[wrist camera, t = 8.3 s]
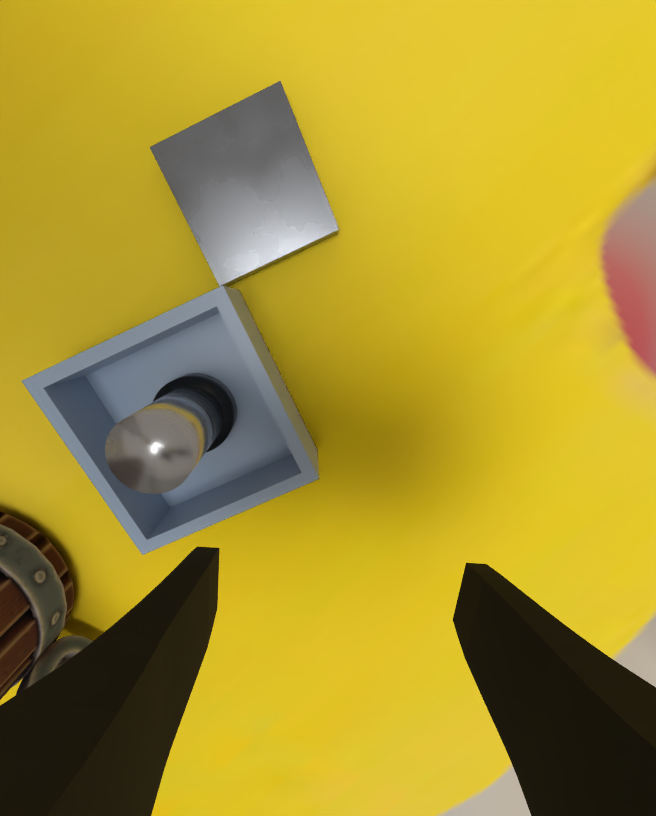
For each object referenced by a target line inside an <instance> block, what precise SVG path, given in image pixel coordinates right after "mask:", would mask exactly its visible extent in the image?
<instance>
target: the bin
mask: <svg viewBox="0 0 656 816" xmlns="http://www.w3.org/2000/svg"><path fill="white" fill-rule="evenodd" d="M192 373H200V374H206V375H209V376H212V377H214V378H216V379H218V380H219V381H221V382H222V383H223V384H225V385H226V386H227V388H228V389H229V390H230V391H231V393H232V395H233V397H234V399H235V402H236V406H237V418H236V422H235V425H234V427H233V429H232V430H231V432H230V433H229V435H228V437H227V438H226V439H225V441H224V442H223V443H222V444H221V445H220V446H218V447H217V448H215V449H213V450H211V451H209V452H206V453H205V454H204V455H203V457H202V458H201V459H200V461H199V462H198V464H197V465H196V466H195V468H194V469H193V470H192V472H191V473H190V474H189V476H188V477H187V479H186V480H185V481H184V482H183V483H182V484H181V485H180V486H178V487H177V488H175V489H173V490H171V491H169V492H165V493H160V494H147V493H142V492H138V491H135V490H133V489H131V488H129V487H127V486H126V485H124V484H123V483H122V482H120V481H119V480H118V479H117V478H116V477H115V475H114V474H113V473H112V471H111V470H110V468H109V466H108V464H107V460H106V456H105V444H106V440H107V437H108V435H109V433H110V431H111V430H112V428H113V427H114V426H115V425H116V424H117V423H118V422H120V421H121V420H123V419H125V418H126V417H128V416H130V415H131V414H133V413H135V412H137V411H138V410H140V409H142V408H144V407H145V406H147V405H149V404H150V403H152V402H153V400H154V398H155V396H156V394H157V393H158V391H159V390H160V389H161V388H162V387H163V386H164V385H166V384H167V383H169V382H171V381H173V380H175V379H177V378H179V377H181V376H183V375H187V374H192ZM22 382H23V384H24V385H25V387H26V388H27V390H28V391H29V392H30V394H31V395H32V397H33V398H34V400H35V401H36V402H37V404H38V405H39V407H40V408H41V410H42V411H43V413H44V414H45V415H46V417H47V418H48V420H49V421H50V423H51V424H52V425H53V427H54V428H55V430H56V431H57V433H58V434H59V436H60V437H61V438H62V440H63V441H64V443H65V444H66V446H67V447H68V449H69V450H70V451H71V453H72V454H73V456H74V457H75V459H76V460H77V461H78V463H79V464H80V466H81V467H82V469H83V470H84V472H85V473H86V474H87V476H88V477H89V479H90V480H91V482H92V483H93V484H94V486H95V487H96V489H97V490H98V492H99V493H100V495H101V496H102V497H103V499H104V500H105V502H106V503H107V505H108V506H109V508H110V509H111V510H112V512H113V513H114V515H115V516H116V518H117V519H118V520H119V522H120V523H121V525H122V526H123V528H124V529H125V531H126V532H127V533H128V535H129V536H130V538H131V539H132V541H133V542H134V543H135V545H136V546H137V548H138V549H139V551H140V552H141V554H142V555H143V554H146V553H148V552H150V551H153V550H155V549H157V548H160V547H162V546H164V545H167V544H169V543H171V542H173V541H176V540H178V539H180V538H183V537H185V536H187V535H190V534H192V533H194V532H197V531H199V530H201V529H204V528H206V527H208V526H211V525H213V524H215V523H218V522H220V521H222V520H224V519H227V518H229V517H231V516H234V515H236V514H238V513H241V512H243V511H245V510H248V509H250V508H252V507H255V506H257V505H259V504H262V503H264V502H266V501H269V500H271V499H273V498H275V497H278V496H280V495H282V494H285V493H287V492H289V491H292V490H294V489H296V488H299V487H301V486H303V485H306V484H308V483H310V482H313V481H315V480H317V479H319V467H318V450H317V448H316V446H315V444H314V442H313V440H312V438H311V436H310V434H309V432H308V430H307V428H306V426H305V424H304V422H303V420H302V418H301V415H300V413H299V411H298V409H297V407H296V405H295V403H294V401H293V399H292V397H291V395H290V393H289V391H288V389H287V387H286V385H285V383H284V381H283V379H282V377H281V375H280V372H279V370H278V368H277V366H276V364H275V362H274V360H273V358H272V356H271V354H270V352H269V350H268V348H267V346H266V344H265V342H264V340H263V338H262V336H261V334H260V331H259V329H258V327H257V325H256V323H255V321H254V319H253V317H252V315H251V313H250V311H249V309H248V307H247V305H246V303H245V301H244V299H243V297H242V295H241V293H240V290H237V289H234V288H230V287H227V286H224V285H222V286H220V287H218V288H216V289H214V290H212V291H210V292H208V293H206V294H203V295H201V296H199V297H197V298H195V299H193V300H191V301H189V302H187V303H185V304H182V305H180V306H178V307H176V308H174V309H172V310H170V311H168V312H166V313H163V314H161V315H159V316H157V317H155V318H153V319H151V320H149V321H147V322H145V323H142V324H140V325H138V326H136V327H134V328H132V329H130V330H128V331H126V332H123V333H121V334H119V335H117V336H115V337H113V338H111V339H109V340H107V341H105V342H102V343H100V344H98V345H96V346H94V347H92V348H90V349H88V350H86V351H84V352H81V353H79V354H77V355H75V356H73V357H71V358H69V359H67V360H65V361H62V362H60V363H58V364H56V365H54V366H52V367H50V368H48V369H46V370H44V371H41V372H39V373H37V374H35V375H33V376H31V377H29V378H27V379H25V380H22Z"/></svg>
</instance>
